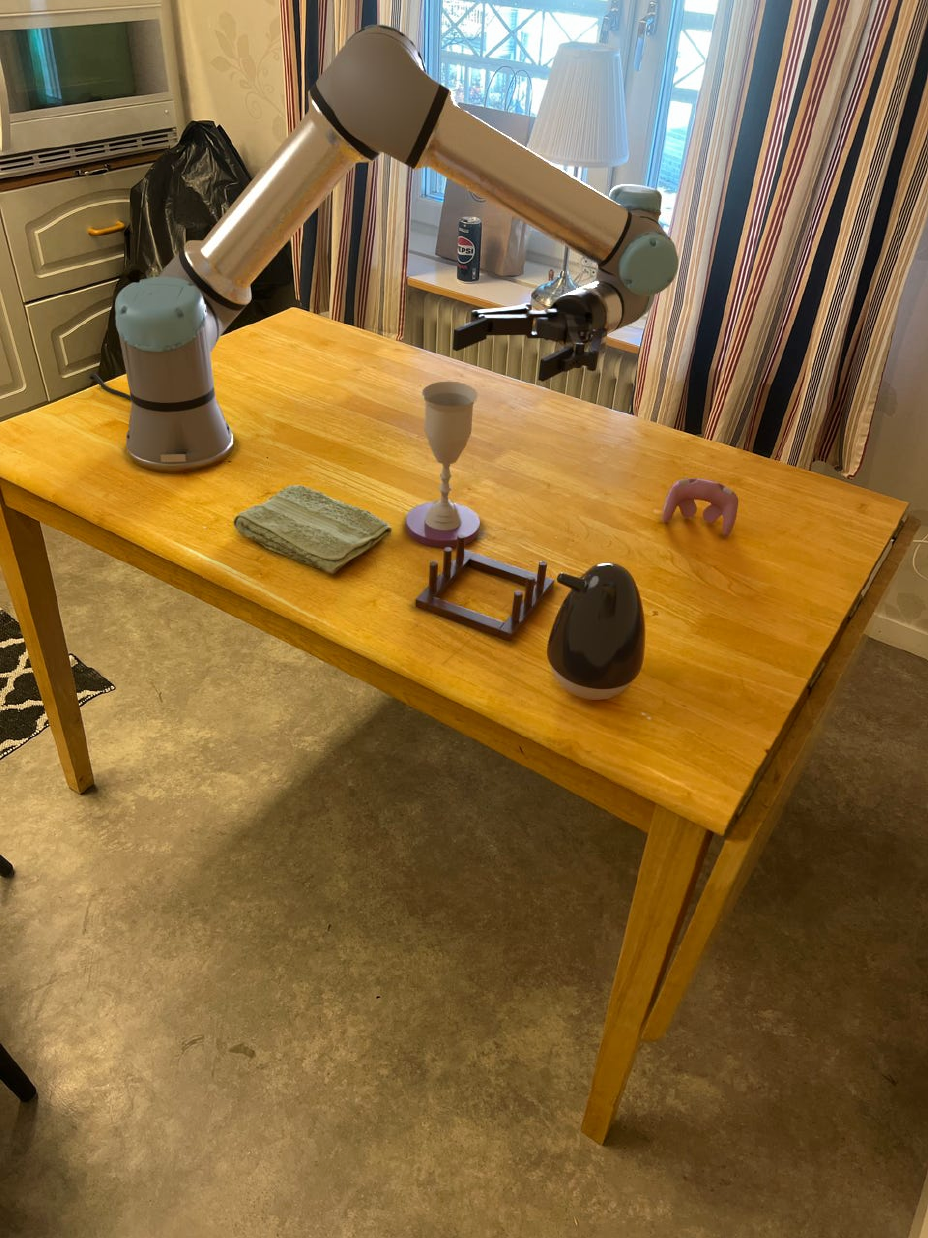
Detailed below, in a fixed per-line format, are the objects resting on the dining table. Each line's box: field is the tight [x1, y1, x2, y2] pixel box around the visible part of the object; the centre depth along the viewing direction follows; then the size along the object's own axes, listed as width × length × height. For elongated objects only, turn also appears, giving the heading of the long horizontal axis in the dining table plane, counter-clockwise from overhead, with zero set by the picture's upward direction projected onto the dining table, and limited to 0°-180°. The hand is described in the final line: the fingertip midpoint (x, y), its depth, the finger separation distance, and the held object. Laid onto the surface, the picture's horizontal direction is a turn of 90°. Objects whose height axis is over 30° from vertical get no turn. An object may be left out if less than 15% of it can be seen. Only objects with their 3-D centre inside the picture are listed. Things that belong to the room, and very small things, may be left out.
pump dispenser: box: [546, 562, 646, 701], centre depth 92 cm, size 10×10×15 cm
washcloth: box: [232, 484, 392, 575], centre depth 115 cm, size 13×18×3 cm
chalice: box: [421, 381, 479, 530], centre depth 114 cm, size 7×7×18 cm
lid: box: [405, 500, 481, 549], centre depth 120 cm, size 10×10×1 cm
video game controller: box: [662, 477, 739, 537], centre depth 124 cm, size 10×5×7 cm, turn 71°
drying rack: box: [414, 534, 555, 643], centre depth 107 cm, size 13×13×5 cm
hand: (497, 355), depth 113 cm, fingers open, 13 cm apart
